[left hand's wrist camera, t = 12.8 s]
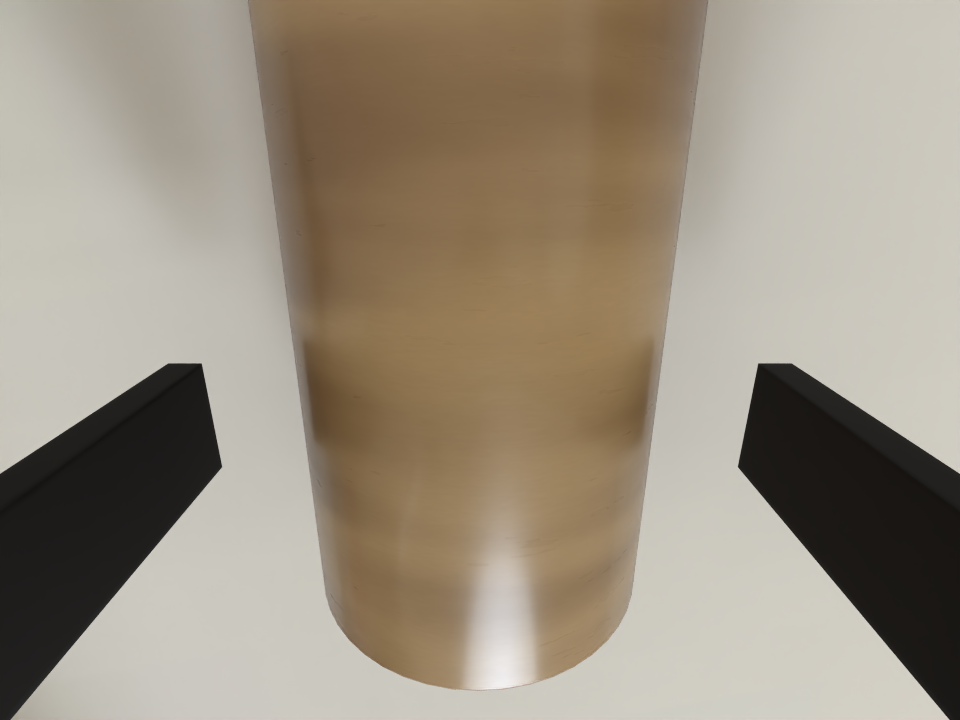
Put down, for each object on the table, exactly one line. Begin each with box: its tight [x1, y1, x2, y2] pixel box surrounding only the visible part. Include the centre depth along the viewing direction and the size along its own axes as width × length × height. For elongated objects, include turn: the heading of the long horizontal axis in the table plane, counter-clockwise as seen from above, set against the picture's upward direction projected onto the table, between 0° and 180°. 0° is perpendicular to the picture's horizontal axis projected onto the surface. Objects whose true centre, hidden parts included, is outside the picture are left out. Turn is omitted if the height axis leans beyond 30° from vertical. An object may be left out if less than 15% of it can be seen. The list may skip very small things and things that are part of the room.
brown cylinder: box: [248, 0, 708, 691], centre depth 10 cm, size 24×8×8 cm, turn 0°
